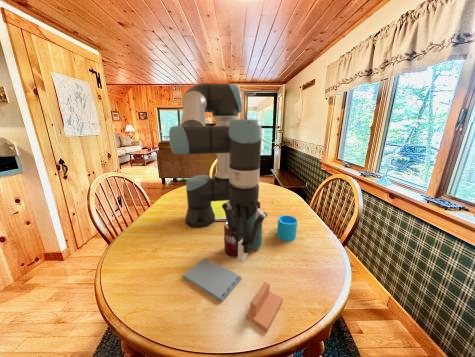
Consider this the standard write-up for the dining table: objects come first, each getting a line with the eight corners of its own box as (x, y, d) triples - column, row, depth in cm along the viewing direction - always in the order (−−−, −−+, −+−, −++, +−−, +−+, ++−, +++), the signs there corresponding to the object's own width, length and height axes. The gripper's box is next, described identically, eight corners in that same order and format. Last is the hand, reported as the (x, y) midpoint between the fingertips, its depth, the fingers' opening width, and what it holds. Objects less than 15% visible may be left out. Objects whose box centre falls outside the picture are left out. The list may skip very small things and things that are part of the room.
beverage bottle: (263, 244, 81) (265, 199, 75) (259, 254, 75) (261, 206, 69) (248, 241, 83) (249, 197, 77) (243, 250, 77) (244, 204, 71)
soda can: (224, 246, 79) (223, 220, 76) (242, 245, 80) (242, 219, 76) (224, 258, 72) (224, 230, 69) (244, 257, 73) (244, 229, 69)
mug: (297, 241, 82) (299, 224, 80) (278, 241, 83) (279, 224, 80) (291, 227, 94) (292, 211, 92) (274, 226, 94) (275, 211, 92)
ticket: (183, 277, 63) (183, 274, 63) (204, 260, 71) (204, 257, 71) (221, 302, 54) (221, 298, 54) (241, 279, 62) (241, 275, 62)
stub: (246, 318, 50) (246, 303, 49) (263, 291, 58) (264, 278, 57) (267, 331, 47) (268, 316, 46) (282, 301, 55) (283, 288, 53)
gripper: (214, 182, 49) (216, 258, 56) (260, 193, 42) (256, 278, 50) (231, 175, 55) (231, 244, 62) (274, 184, 48) (268, 261, 55)
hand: (242, 259), depth 56 cm, fingers closed
